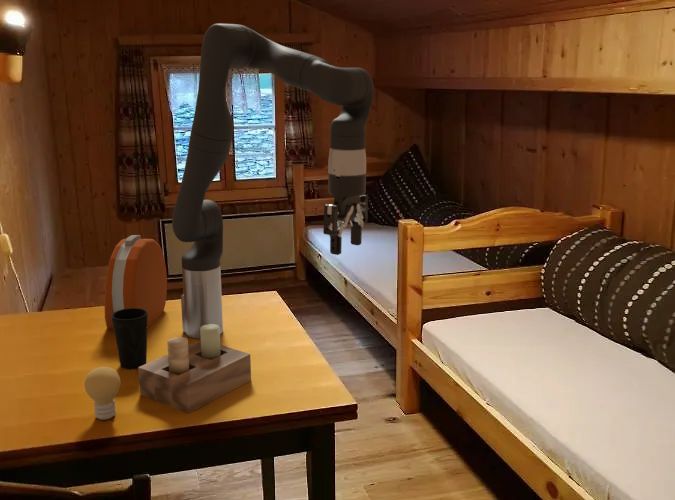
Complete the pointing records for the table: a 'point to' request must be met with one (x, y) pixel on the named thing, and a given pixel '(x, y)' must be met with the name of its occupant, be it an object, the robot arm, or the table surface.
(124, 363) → the cup
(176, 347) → the peg birch
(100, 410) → the light bulb
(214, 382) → the socket block
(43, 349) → the table surface
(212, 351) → the peg sage
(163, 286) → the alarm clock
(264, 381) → the table surface
